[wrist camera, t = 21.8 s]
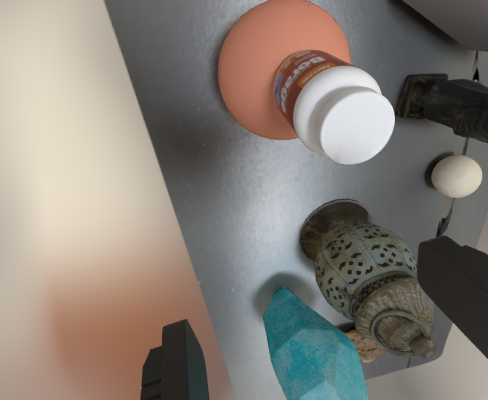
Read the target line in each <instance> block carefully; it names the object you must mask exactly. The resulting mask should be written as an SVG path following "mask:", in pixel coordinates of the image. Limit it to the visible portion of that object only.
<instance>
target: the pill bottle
mask: <svg viewBox="0 0 488 400" xmlns="http://www.w3.org/2000/svg"><path fill="white" fill-rule="evenodd" d="M273 93H274V99H275V102H276V105H277V107H278V109H279V110H280V112H281V113H282V115H283V116H284V117H285V119H286V120H287V122H288V123H289V125H290V126H291V127H292V129H293V130H294V132H295V133H296V135H297V136H298V138H299V139H300V140H301V141H302V143H303V144H304V145H305V146H306V147H307V148H308V149H310V150H311V151H313V152H315V153H318V154H320V155H325V156H328V157H329V158H330V159H331V160H333V161H335V162H337V163H340V164H347V165H350V164H358V163H361V162H364V161H366V160H368V159H370V158H372V157H373V156H375V155H376V154H377V153H378V152H379V151H381V150H382V149H383V147H384V146H385V145H386V143H387V142H388V140H389V138H390V136H391V134H392V132H393V129H394V122H395V116H394V111H393V108H392V106H391V104H390V102H389V101H388V100H387V99H386V98H385V97H384V96H382V94H381V91H380V88H379V86H378V84H377V83H376V81H375V80H374V79H373V78H372V77H371V76H370V75H369V74H368V73H366V72H365V71H363V70H362V69H360V68H358V67H356V66H354V65H352V64H349V63H347V62H345V61H343V60H341V59H339V58H337V57H335V56H333V55H331V54H328V53H326V52H324V51H320V50H304V51H301V52H298V53H296V54H294V55H292V56H291V57H290V58H288V59H287V60H286V61H285V62H284V63H283V65H282V66H281V67H280V69H279V71H278V73H277V75H276V78H275V81H274V89H273Z"/></svg>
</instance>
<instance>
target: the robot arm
mask: <svg viewBox="0 0 488 400" xmlns="http://www.w3.org/2000/svg"><path fill="white" fill-rule="evenodd" d="M417 280H418V283H419V285H420V287H421V288H422V290H423V291H424V292H425V294H426V295H427V296H428V297H429V298H430V299H431V300H432V301H433V302H434V303H435V304H436V305H437V306H438V307H439V308H440V309H441V310H442V311H443V313H444V314H445V315H446V316H447V317H448V318H449V319H450V320H451V321H452V322H453V323H454V324H455V325H456V326H457V327H458V328H459V329H460V330H461V331H462V332H463V333H464V335H465V336H466V337H467V338H468V339H469V340H470V341H471V342H472V343H473V344H474V345H475V346H476V347H477V348H478V349H479V350H480V351H481V352H482V353H483V354H484V355H485V356H486V358H488V255H487V254H486V253H483V252H481V251H479V250H476V249H474V248H471V247H469V246H467V245H465V246H462V247H461V246H460V245H458V244H457V243H456V242H454V241H453V240H452V239H451V238H449V237H447V236H439V237H436V238H433V239H430V240H427V241H424V242H421V243H420V244H419V249H418V263H417ZM140 400H209V392H208V383H207V373H206V365H205V360H204V355H203V352H202V349H201V346H200V344H199V342H198V340H197V338H196V336H195V334H194V332H193V330H192V328H191V326H190V324H189V322H188V320H187V319H185V320H182V321H179V322H176V323H172V324H170V325H167V326H164V327H163V331H162V346H160V347H157V348H154V349H151V350H150V352H149V354H148V357H147V359H146V361H145V364H144V366H143V372H142V389H141V399H140Z"/></svg>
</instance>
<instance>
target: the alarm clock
mask: <svg viewBox="0 0 488 400" xmlns="http://www.w3.org/2000/svg"><path fill="white" fill-rule="evenodd" d="M403 1H404V2H405V3H407V4H408V5H409V6H411V7H412V8H413V9H415V10H416V11H417V12H419V13H420V14H421V15H423V16H424V17H425V18H427V19H428V20H429V21H431V22H432V23H433V24H435V25H436V26H437V27H439V28H440V29H441V30H443V31H444V32H445V33H447V34H448V35H449V36H451V37H452V38H453V39H455V40H456V41H457V42H459V43H460V44H461V45H463V46H464V47H465V48H467V49H468V50H476V51H488V0H403Z"/></svg>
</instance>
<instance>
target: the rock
mask: <svg viewBox="0 0 488 400" xmlns="http://www.w3.org/2000/svg"><path fill="white" fill-rule="evenodd" d="M344 334H346V335H347V336H348V337H349V338H350V339H351V341H352V342H353V343H354V345H355V347H356V349H357V352H358V354H359V358H360V361H362V362H366V363H369V362H371V361H372V360H374V359H375V358H376V357H378V356H380V355H382V354H383V353H384V349H382V348H381V347H380V346H379V345H378V344H377V343H376V341H372V340H370V339H367V338H365V337H363V336H361V334H360V333H359V332H358V331H357V330H351V331H349V332H345V333H344ZM383 344H384V343H383ZM384 345H386V344H384ZM386 346H387V345H386Z"/></svg>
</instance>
